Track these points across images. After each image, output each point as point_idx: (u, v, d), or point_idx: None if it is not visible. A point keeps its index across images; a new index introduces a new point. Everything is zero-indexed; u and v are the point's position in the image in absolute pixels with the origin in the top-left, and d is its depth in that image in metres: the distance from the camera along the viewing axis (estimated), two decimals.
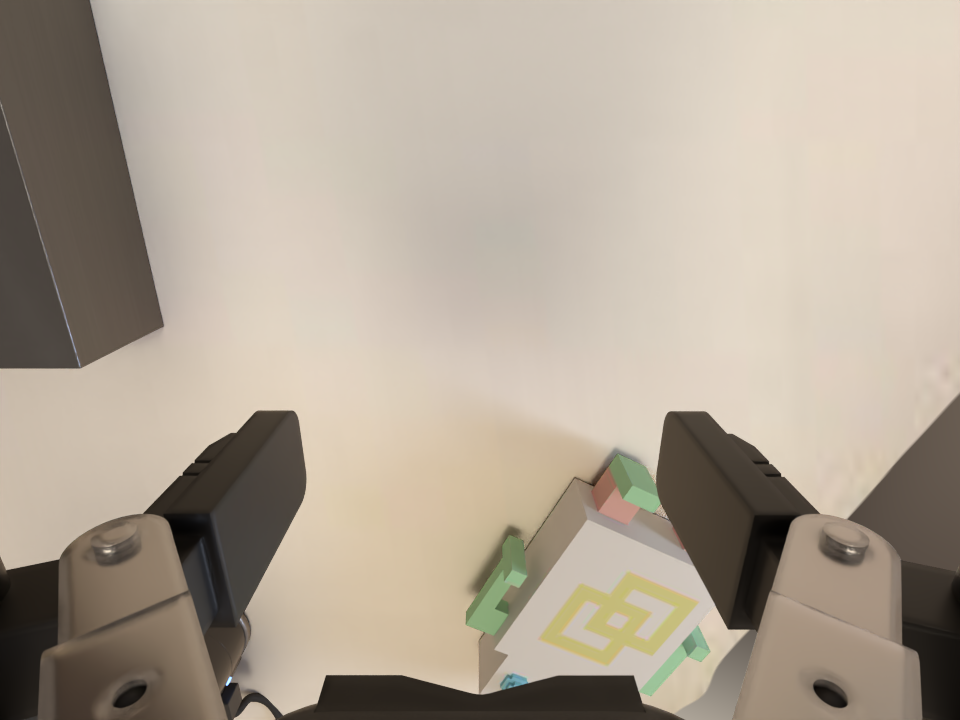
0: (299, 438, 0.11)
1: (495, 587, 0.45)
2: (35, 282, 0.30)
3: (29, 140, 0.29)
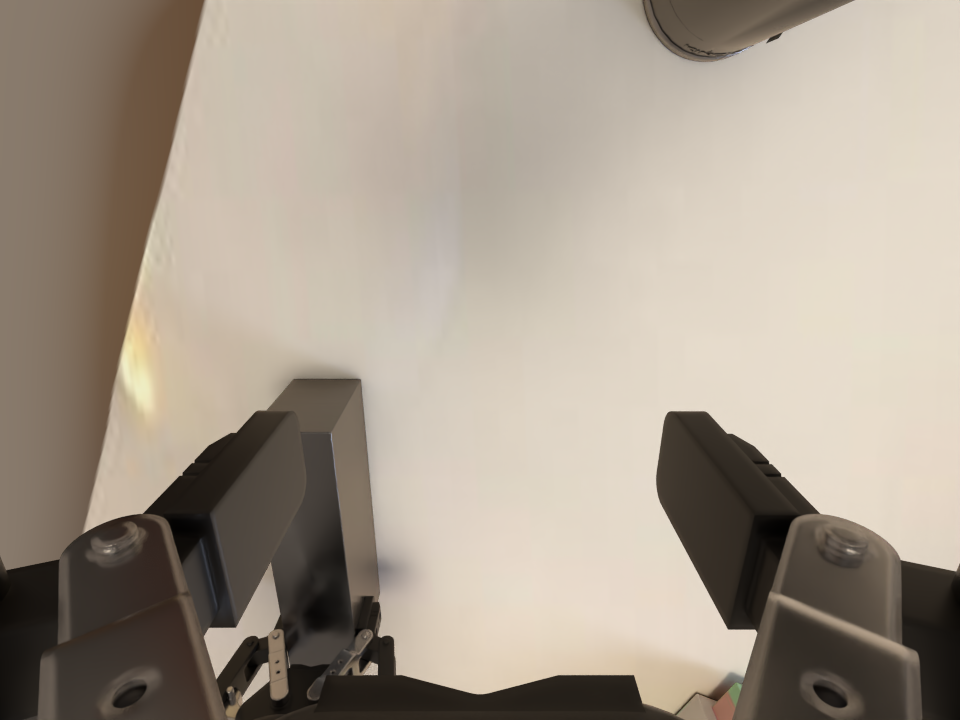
0: (299, 438, 0.11)
1: None
2: (339, 629, 0.41)
3: (348, 539, 0.39)
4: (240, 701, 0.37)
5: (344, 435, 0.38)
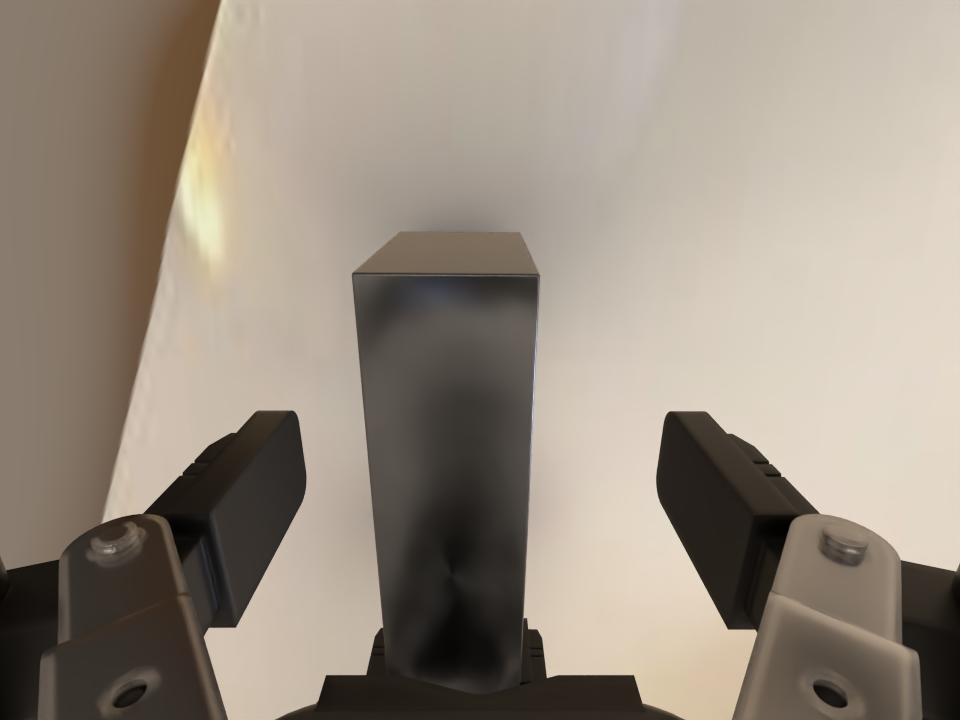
0: (299, 438, 0.11)
1: None
2: (493, 686, 0.22)
3: None
4: None
5: None
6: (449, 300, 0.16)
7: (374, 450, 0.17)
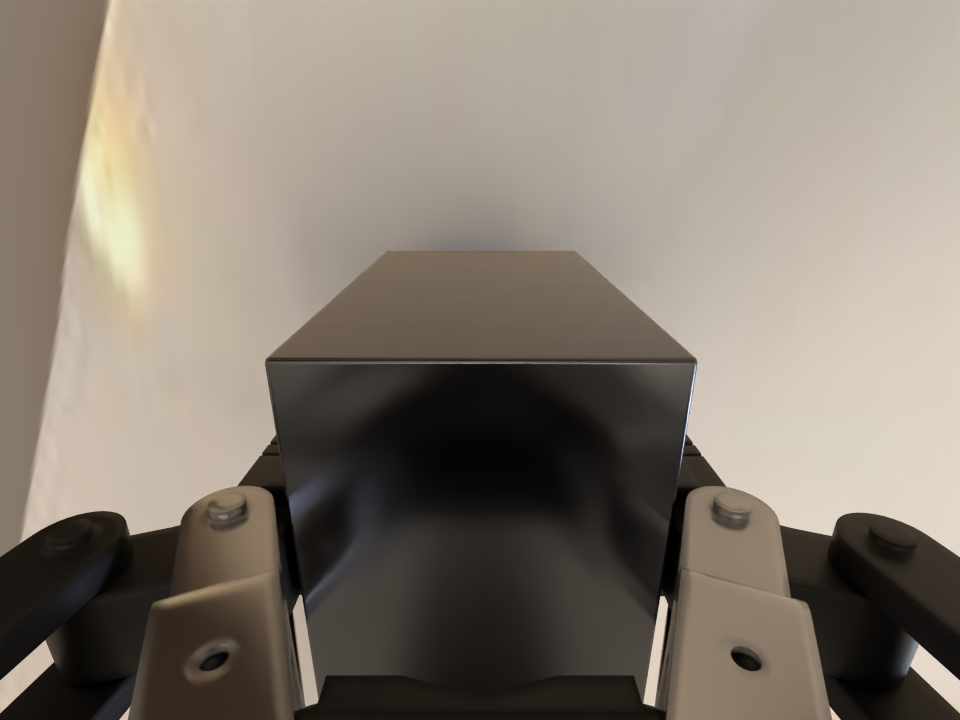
0: None
1: None
2: None
3: None
4: None
5: None
6: (488, 415, 0.07)
7: None
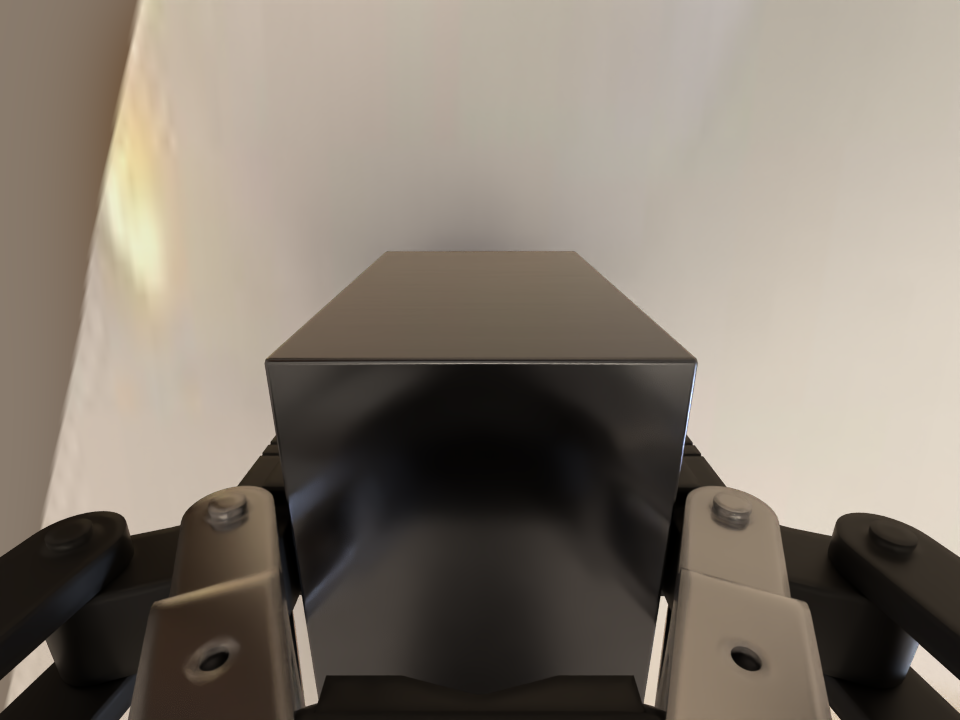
0: None
1: None
2: None
3: None
4: None
5: None
6: (488, 416, 0.07)
7: None
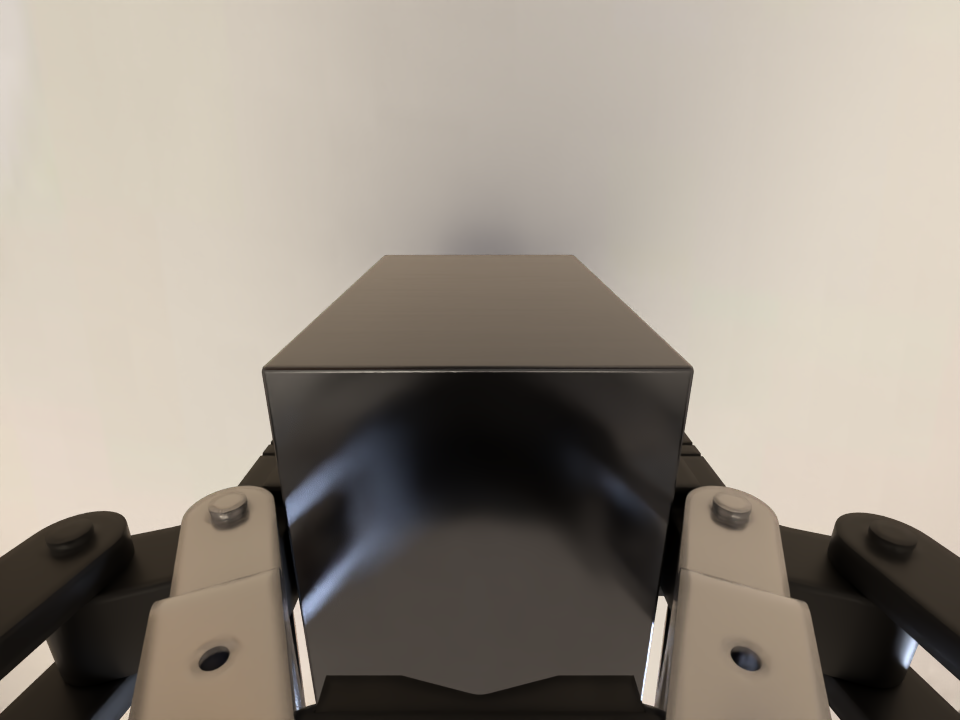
0: None
1: None
2: None
3: None
4: None
5: None
6: (485, 424, 0.07)
7: None
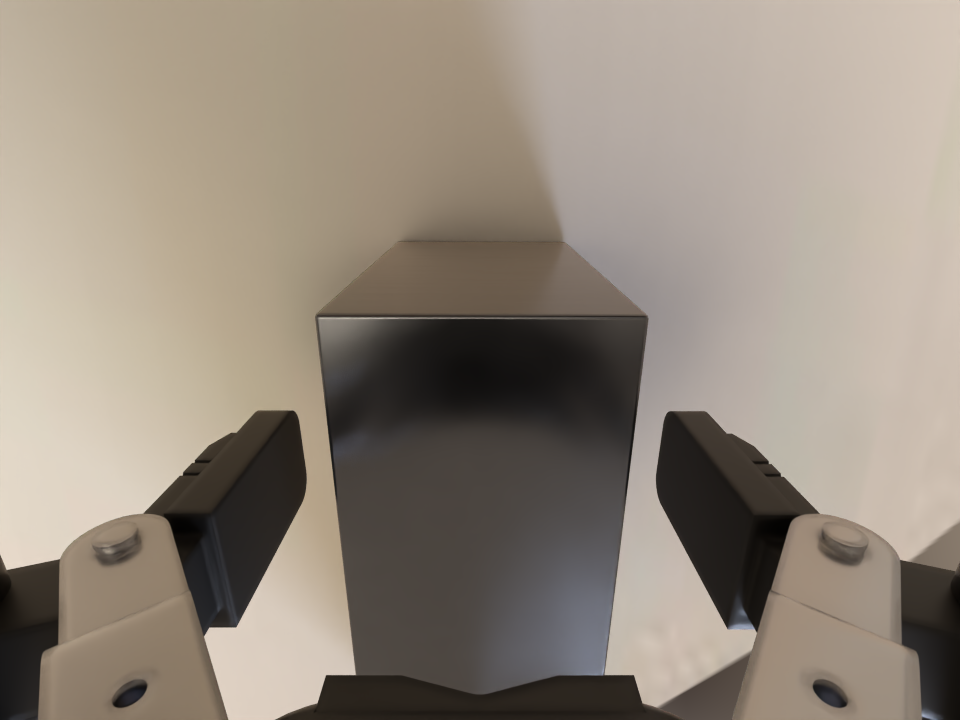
0: (299, 438, 0.11)
1: None
2: None
3: None
4: None
5: None
6: (487, 360, 0.09)
7: (358, 596, 0.11)
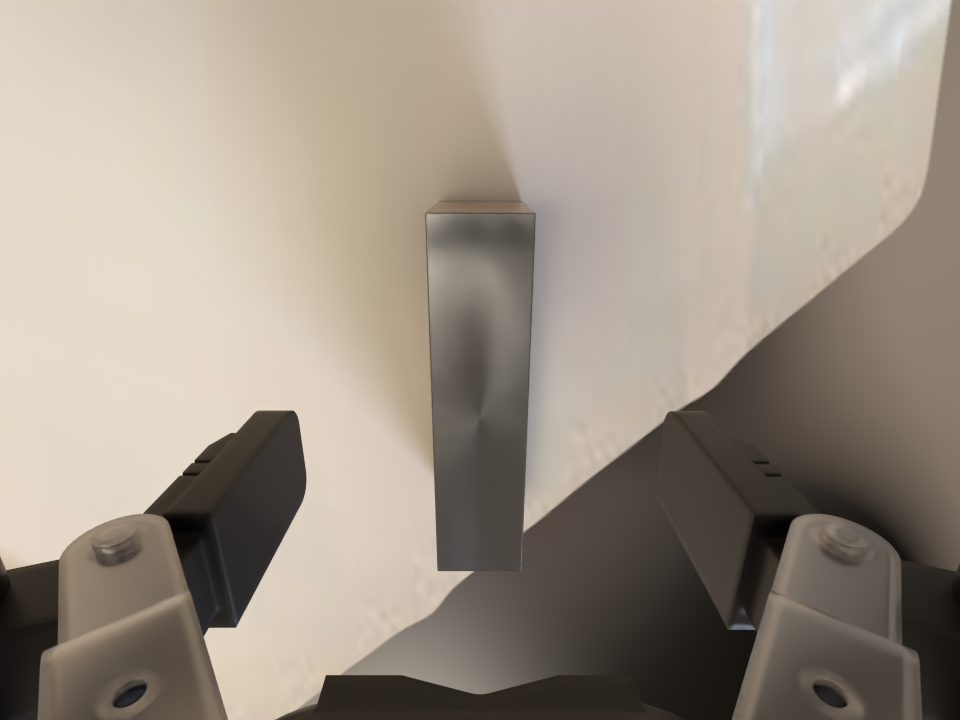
0: (299, 438, 0.11)
1: None
2: (506, 502, 0.32)
3: None
4: None
5: None
6: (482, 229, 0.26)
7: (433, 327, 0.28)
